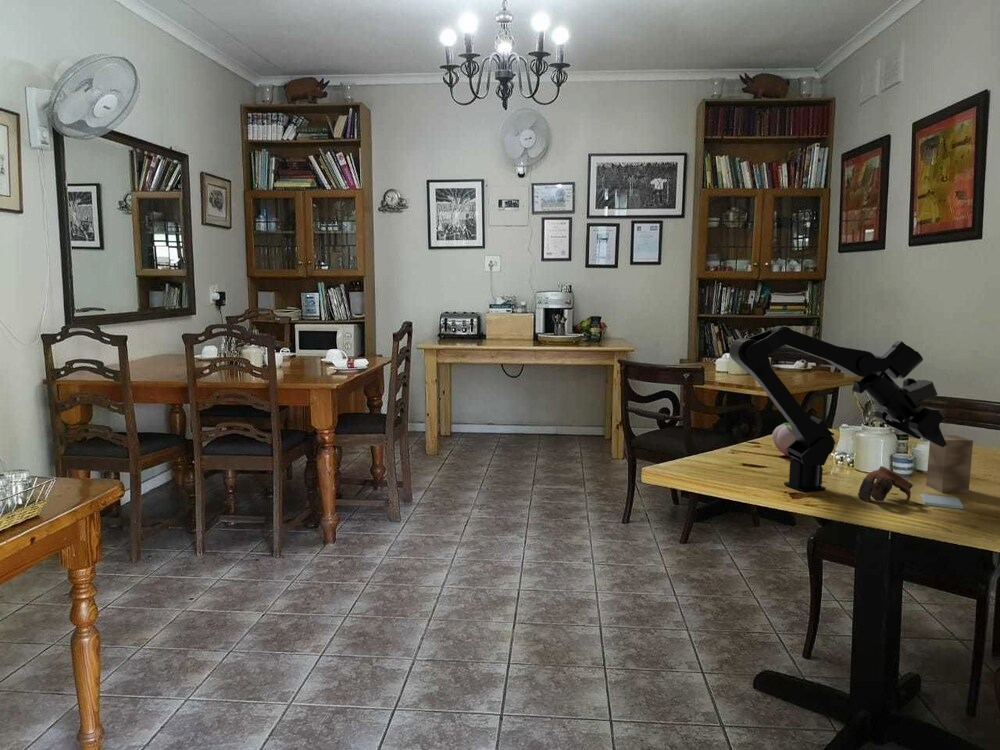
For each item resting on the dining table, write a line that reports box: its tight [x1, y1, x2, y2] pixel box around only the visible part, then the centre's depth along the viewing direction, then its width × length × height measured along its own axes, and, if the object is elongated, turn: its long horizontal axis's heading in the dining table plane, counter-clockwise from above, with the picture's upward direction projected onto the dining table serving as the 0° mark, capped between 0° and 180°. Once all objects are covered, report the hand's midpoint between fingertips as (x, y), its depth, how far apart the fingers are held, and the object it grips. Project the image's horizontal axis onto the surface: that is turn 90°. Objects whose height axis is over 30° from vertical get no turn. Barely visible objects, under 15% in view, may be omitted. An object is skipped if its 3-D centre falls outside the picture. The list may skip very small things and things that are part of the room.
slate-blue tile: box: [920, 493, 964, 510], centre depth 154 cm, size 7×7×1 cm
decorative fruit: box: [771, 422, 796, 457], centre depth 196 cm, size 9×8×10 cm
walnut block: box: [925, 434, 974, 494], centre depth 164 cm, size 6×6×12 cm
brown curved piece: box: [857, 465, 914, 504], centre depth 154 cm, size 12×10×8 cm
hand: (932, 441), depth 164 cm, fingers open, 9 cm apart
